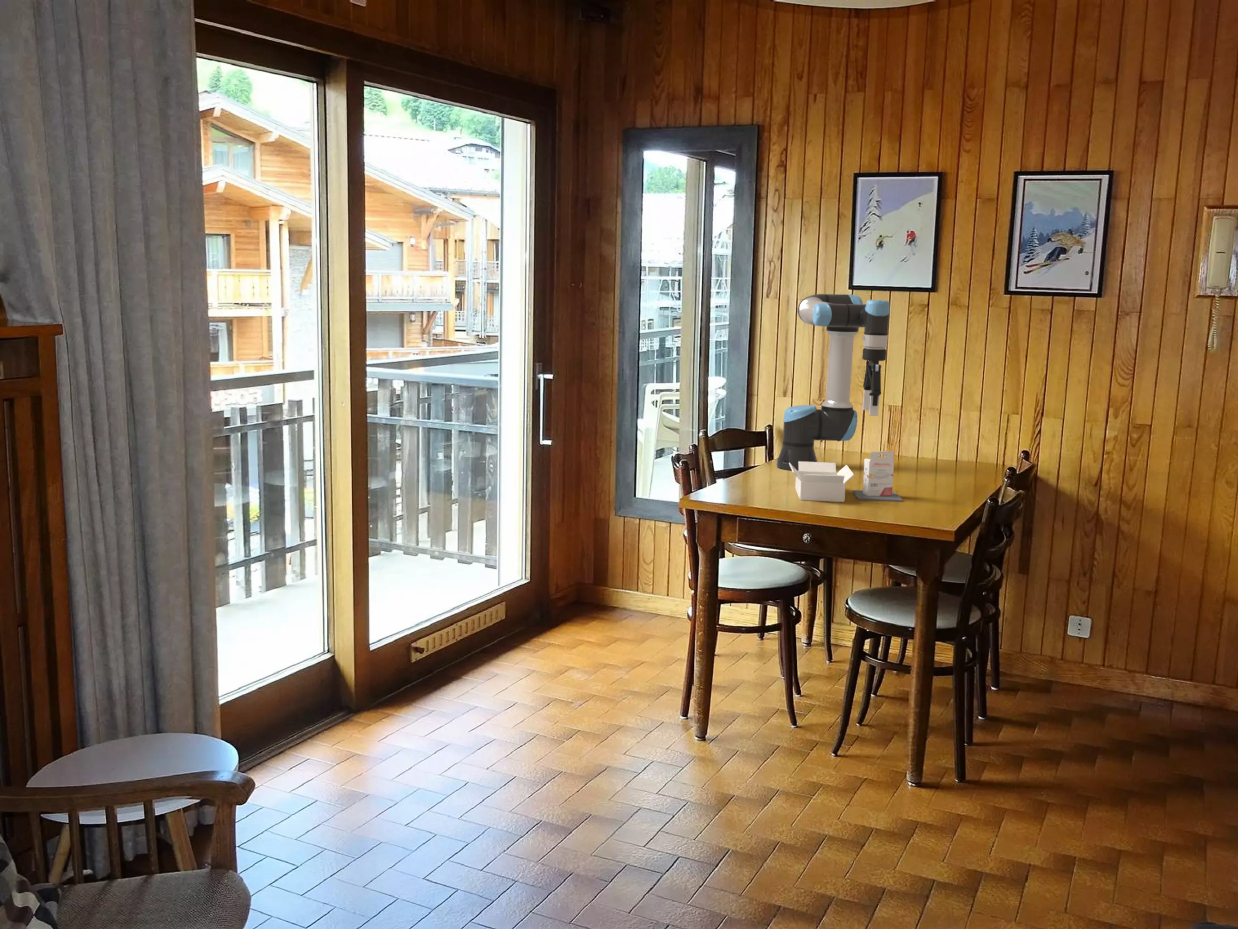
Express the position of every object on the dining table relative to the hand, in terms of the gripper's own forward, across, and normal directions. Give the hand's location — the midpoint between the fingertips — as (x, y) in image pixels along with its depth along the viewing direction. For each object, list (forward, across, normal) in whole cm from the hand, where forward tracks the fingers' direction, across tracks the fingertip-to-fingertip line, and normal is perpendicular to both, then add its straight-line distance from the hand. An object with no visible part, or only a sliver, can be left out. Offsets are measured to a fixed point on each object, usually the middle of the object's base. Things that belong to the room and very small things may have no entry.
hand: (870, 412), depth 367 cm
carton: (+27, +6, -16) cm, 32 cm away
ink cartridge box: (+27, +4, +3) cm, 27 cm away
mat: (+27, +5, +3) cm, 28 cm away
